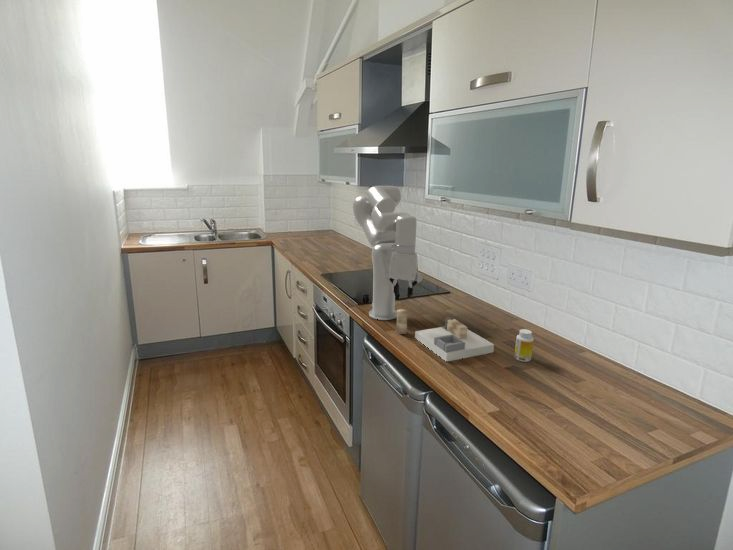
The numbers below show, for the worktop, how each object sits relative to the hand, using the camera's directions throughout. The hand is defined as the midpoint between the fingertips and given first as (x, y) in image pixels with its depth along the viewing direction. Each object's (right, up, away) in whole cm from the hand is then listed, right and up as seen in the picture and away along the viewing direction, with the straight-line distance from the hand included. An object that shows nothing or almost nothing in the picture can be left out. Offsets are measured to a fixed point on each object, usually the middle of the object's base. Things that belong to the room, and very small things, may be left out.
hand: (403, 295), depth 171 cm
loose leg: (0, -15, +4) cm, 15 cm away
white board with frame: (+18, -18, -7) cm, 26 cm away
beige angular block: (+19, -14, -3) cm, 24 cm away
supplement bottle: (+40, -21, -16) cm, 48 cm away
